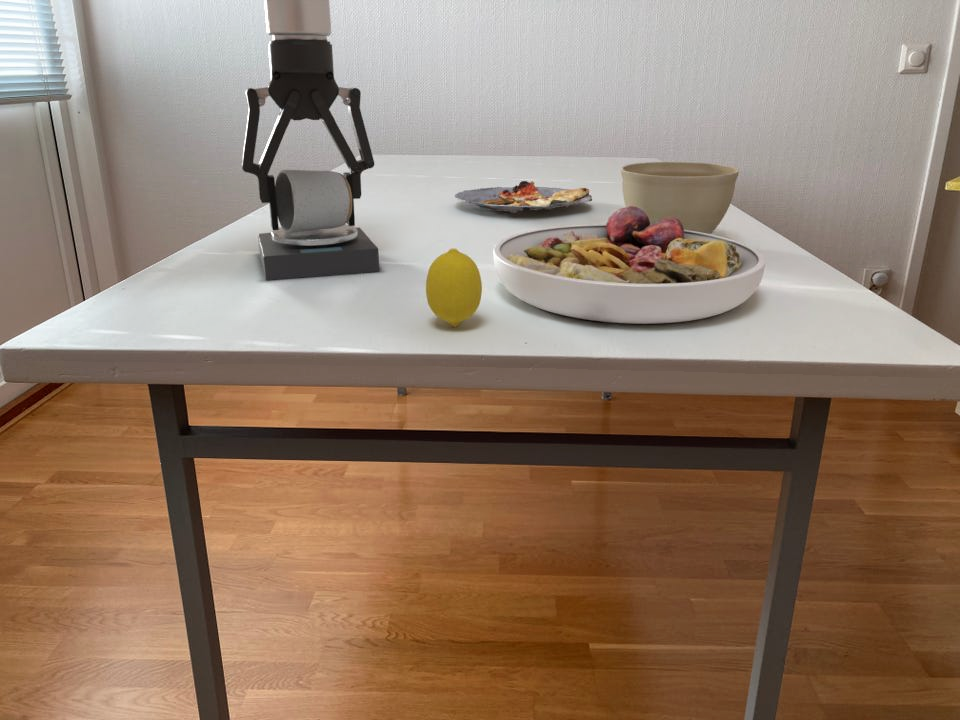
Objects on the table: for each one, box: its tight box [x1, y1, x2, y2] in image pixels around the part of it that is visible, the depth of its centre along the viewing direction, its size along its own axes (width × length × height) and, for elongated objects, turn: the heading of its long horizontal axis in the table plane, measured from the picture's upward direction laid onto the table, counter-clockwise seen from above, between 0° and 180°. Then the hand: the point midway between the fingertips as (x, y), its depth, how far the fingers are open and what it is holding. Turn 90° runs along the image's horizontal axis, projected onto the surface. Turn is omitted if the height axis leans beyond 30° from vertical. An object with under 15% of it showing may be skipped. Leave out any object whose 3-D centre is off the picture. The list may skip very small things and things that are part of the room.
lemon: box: [425, 248, 483, 328], centre depth 77 cm, size 6×6×8 cm
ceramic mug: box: [275, 169, 352, 233], centre depth 100 cm, size 11×8×8 cm
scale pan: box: [271, 223, 358, 246], centre depth 102 cm, size 11×11×1 cm
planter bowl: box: [620, 161, 740, 234], centre depth 112 cm, size 16×16×11 cm
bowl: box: [492, 206, 766, 325], centre depth 88 cm, size 30×30×8 cm
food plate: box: [454, 180, 593, 214], centre depth 142 cm, size 25×23×4 cm
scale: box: [257, 226, 380, 281], centre depth 102 cm, size 14×14×3 cm
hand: (313, 225), depth 101 cm, fingers closed on ceramic mug, 9 cm apart
